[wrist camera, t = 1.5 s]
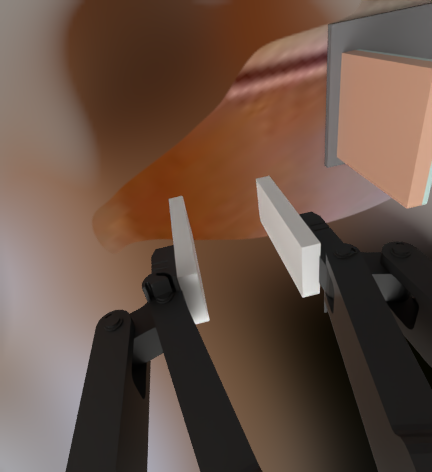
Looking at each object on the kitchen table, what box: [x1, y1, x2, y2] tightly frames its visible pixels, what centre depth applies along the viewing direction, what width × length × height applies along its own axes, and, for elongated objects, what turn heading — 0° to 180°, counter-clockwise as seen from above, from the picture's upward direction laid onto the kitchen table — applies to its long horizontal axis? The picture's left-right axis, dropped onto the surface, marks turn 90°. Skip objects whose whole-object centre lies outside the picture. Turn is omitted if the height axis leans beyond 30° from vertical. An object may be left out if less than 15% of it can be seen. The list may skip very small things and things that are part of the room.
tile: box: [337, 49, 432, 208], centre depth 33 cm, size 2×12×14 cm, turn 10°
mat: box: [325, 3, 432, 168], centre depth 39 cm, size 18×16×1 cm
